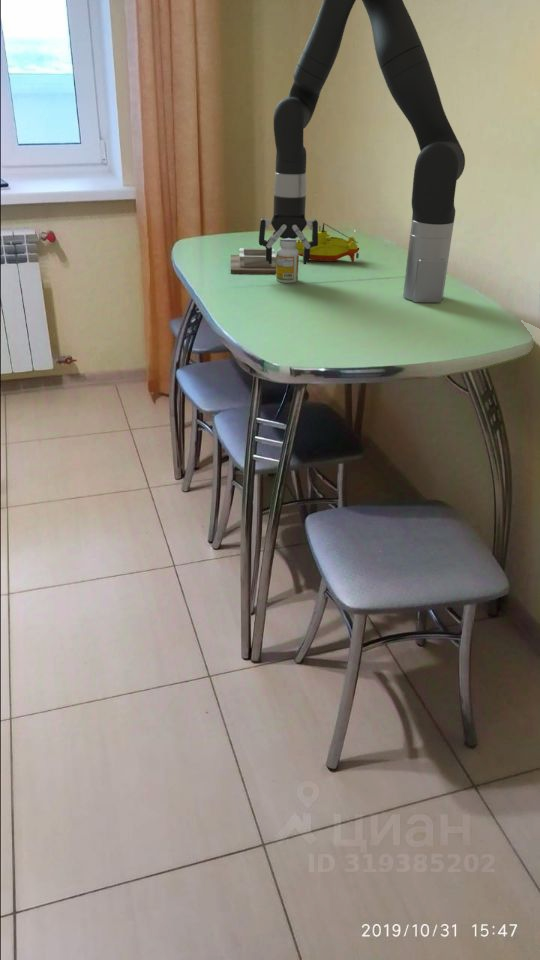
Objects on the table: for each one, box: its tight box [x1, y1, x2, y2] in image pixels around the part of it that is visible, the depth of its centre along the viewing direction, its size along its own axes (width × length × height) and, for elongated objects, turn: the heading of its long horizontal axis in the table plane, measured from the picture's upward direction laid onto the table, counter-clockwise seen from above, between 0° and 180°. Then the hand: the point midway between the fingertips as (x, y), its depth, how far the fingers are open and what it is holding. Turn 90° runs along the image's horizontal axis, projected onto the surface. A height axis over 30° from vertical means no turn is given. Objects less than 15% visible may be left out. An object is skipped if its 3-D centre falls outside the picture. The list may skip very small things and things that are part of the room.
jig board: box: [230, 247, 277, 275], centre depth 190 cm, size 16×14×4 cm
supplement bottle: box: [275, 238, 300, 284], centre depth 177 cm, size 5×5×10 cm
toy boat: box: [295, 222, 360, 262], centre depth 195 cm, size 6×18×10 cm, turn 89°
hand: (287, 263), depth 177 cm, fingers open, 8 cm apart
